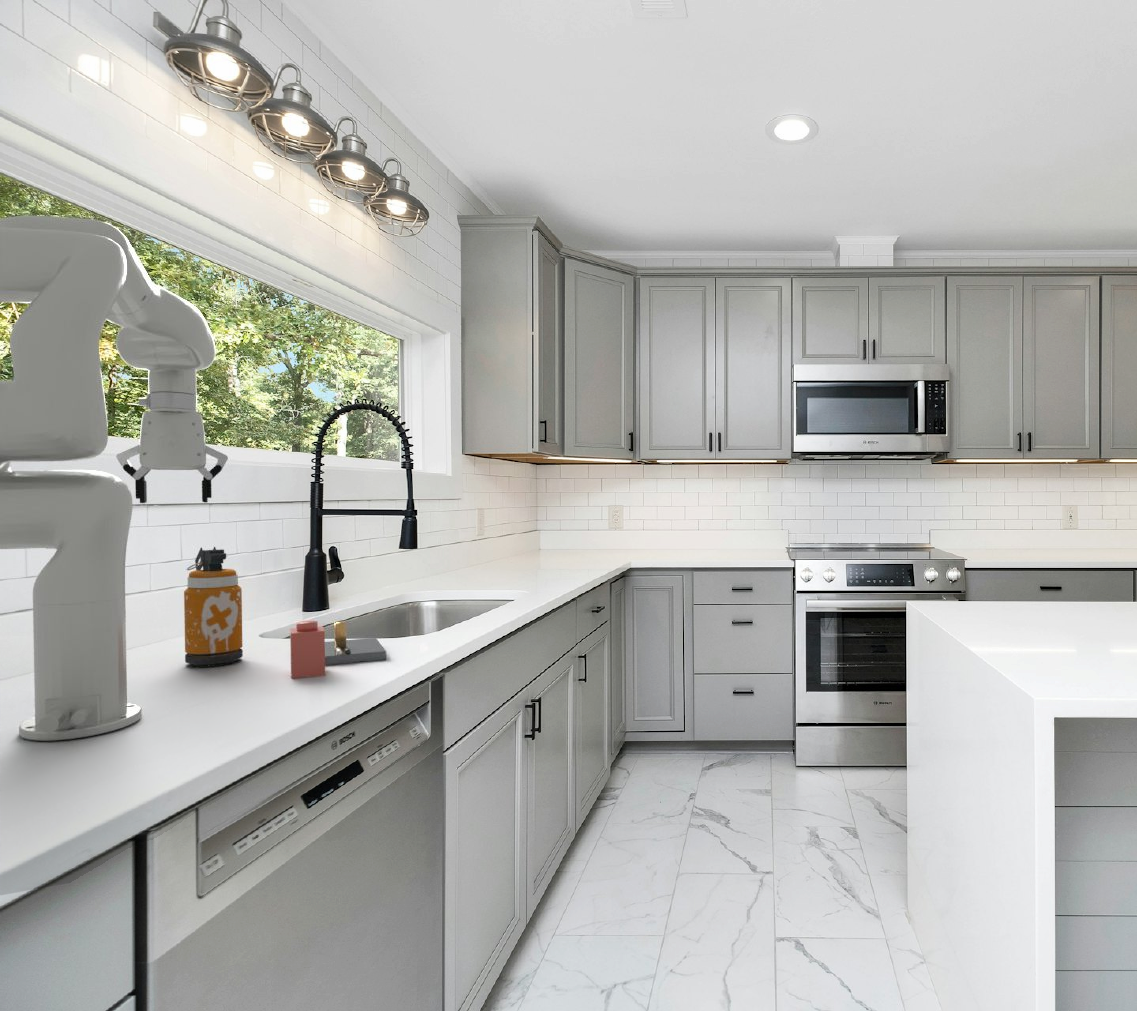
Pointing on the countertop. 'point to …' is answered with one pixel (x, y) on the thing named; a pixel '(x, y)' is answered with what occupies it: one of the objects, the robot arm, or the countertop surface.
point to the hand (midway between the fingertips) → (174, 502)
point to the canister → (212, 612)
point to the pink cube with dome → (307, 649)
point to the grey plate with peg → (351, 648)
